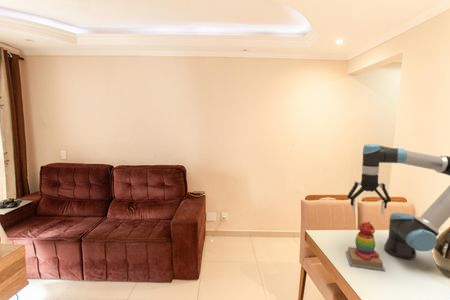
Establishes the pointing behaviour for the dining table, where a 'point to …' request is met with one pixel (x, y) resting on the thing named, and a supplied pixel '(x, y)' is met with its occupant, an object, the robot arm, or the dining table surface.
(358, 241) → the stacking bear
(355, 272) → the dining table surface
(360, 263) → the board
